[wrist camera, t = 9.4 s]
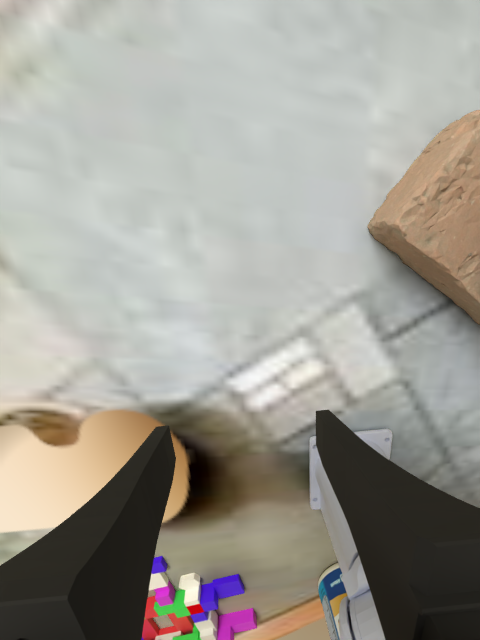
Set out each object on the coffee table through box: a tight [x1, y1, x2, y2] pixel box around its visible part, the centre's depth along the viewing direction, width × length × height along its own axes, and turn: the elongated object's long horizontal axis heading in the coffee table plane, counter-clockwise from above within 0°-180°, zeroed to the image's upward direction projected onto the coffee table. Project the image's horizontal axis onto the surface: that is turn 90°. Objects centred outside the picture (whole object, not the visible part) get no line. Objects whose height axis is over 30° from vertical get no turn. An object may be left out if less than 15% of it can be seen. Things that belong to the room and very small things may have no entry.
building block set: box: [141, 556, 257, 640], centre depth 32 cm, size 25×21×4 cm
